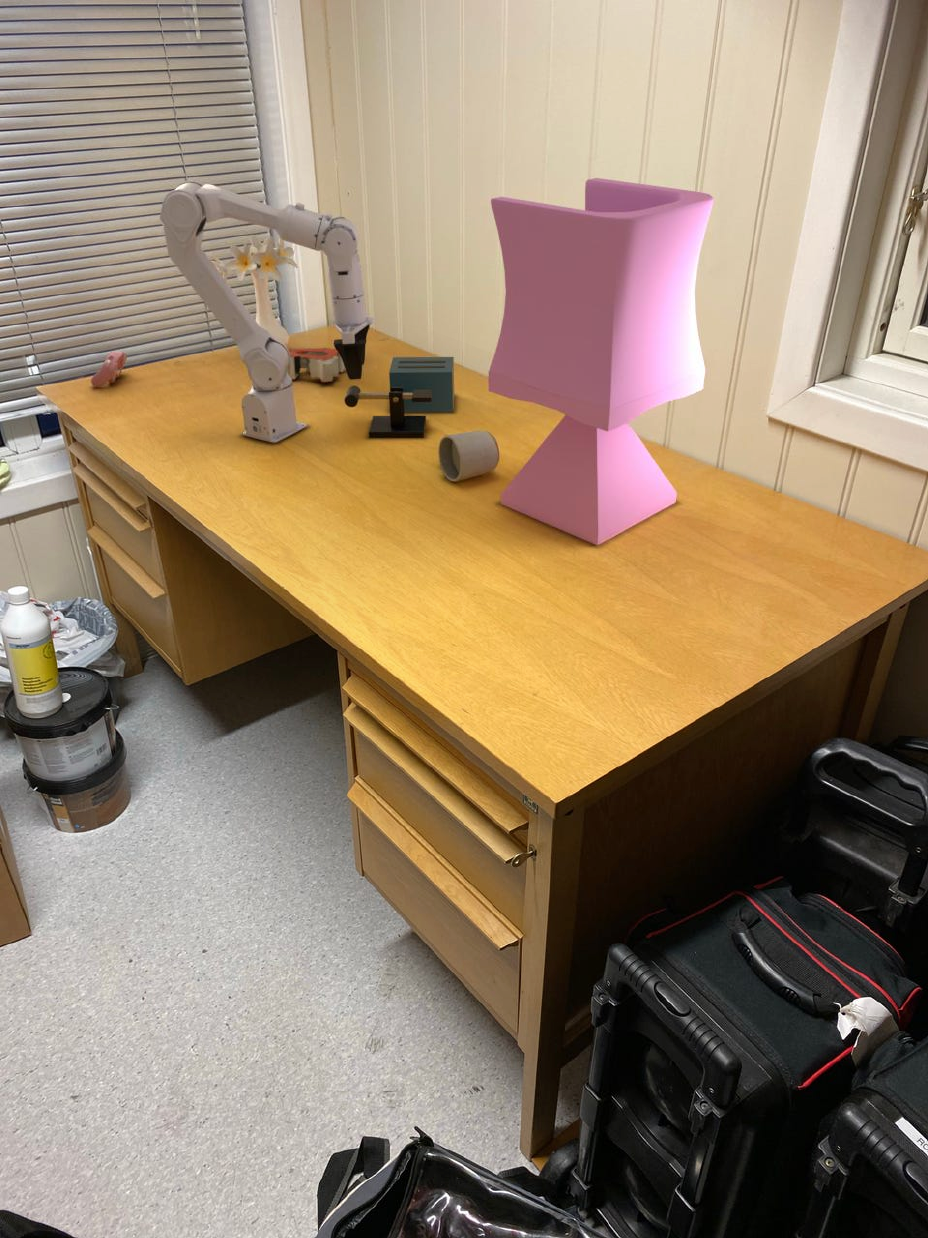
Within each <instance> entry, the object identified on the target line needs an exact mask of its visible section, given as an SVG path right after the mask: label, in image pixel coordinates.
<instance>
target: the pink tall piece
mask: <svg viewBox="0 0 928 1238" xmlns="http://www.w3.org/2000/svg"><path fill="white" fill-rule="evenodd" d="M584 186H585V188H584V209H580V208H579V209H578V208H573V207H567V206H560V205H554V204H548V203H542V202H537V201H529V200H525V199H518V198H511V197H507V196H499V197H498V196H497V197H494V198H492V197H491V199H490V205H491V211H492V215H493V219H494V222H495V226H496V230H497V235H498V236H497V237H498V240H499V245H500V250H501V257H502V263H503V271H504V283H505V284H504V286H505V287H504V289H505V295H504V297H505V298H504V308H503V309H504V310H503V317H502V321H501V328H500V332H499V336H498V340H497V343H496V348H495V351H494V354H493V357H492V360H491V364H490V366H489V370H488V392H490V393H493V394H496V395H498V396H502V397H505V398H507V399H510V400H516V401H523V402H528V403H533V404H536V405H538V406H541V407H545V408H548V409H551V410H554V411H557V412H559V413H561V414H563V415H564V416H563V417H562V418H561V420H560V421H559V422H558V424H557V425H556V426H555V427H554V428H553V429H552V431H551V432H550V433H549V435H548V436H547V437H546V438H545V440H543V442H541V444H540V446H539V447H538V448H537V450H535V452H534V453H533V454H532V455H531V456H530V457H529V459H528V460H527V461H526V462H525V464H524V465H523V466H522V468H521V469H520V470H519V471H518V473H517V474H516V475H515V476H514V477H513V478H512V480H511V481H510V482H509V483H508V485H507V486H506V487H505V488H504V490H503V491H502V492H501V493H500V505H502V506H505V507H508V508H510V509H512V510H514V511H517V512H519V513H521V514H524V515H526V516H528V517H531V518H533V519H536V520H537V521H540V522H542V523H544V524H546V525H548V526H551V527H554V528H556V529H558V530H561V531H562V532H565V533H567V534H570V535H572V536H575V537H577V538H579V539H581V540H584V541H585V542H589V543H590V544H593V545H596V546H600V545H601V544H603V543H605V542H606V541H608V540H610V539H612V538H614V537H615V536H618V535H619V534H621V533H623V532H625V531H627V530H628V529H631V528H632V527H634V526H636V525H638V524H639V523H641V522H643V521H644V520H646V519H648V518H650V517H653V516H654V515H656V514H657V513H659V512H661V511H663V510H665V509H666V508H668V507H671V505H673V504H675V503H676V501H677V494H678V493H677V491H676V489H675V488H674V486H673V485H672V483H671V482H670V480H669V479H668V478H667V476H666V475H665V474H664V471H662V469H661V468H660V467H659V465H658V463H657V462H656V460H655V459H654V458H653V457H652V454H651V453H650V452H649V451H648V449H647V448H646V447H645V444H644V443H643V442H642V441H641V439H640V438H639V436H638V435H637V433H636V432H635V430H634V429H633V427H632V426H631V425H630V423H631V422H632V421H633V420H635V419H637V418H638V417H639V416H641V415H643V414H645V413H646V412H648V411H649V410H651V409H655V408H657V407H658V406H661V405H663V404H665V403H668V402H671V401H674V400H679V399H683V398H686V397H688V396H691V395H693V394H696V393H697V392H700V391H702V390H704V384H705V375H706V367H705V363H704V358H703V353H702V349H701V344H700V339H699V338H700V337H699V332H698V326H697V315H696V294H695V293H696V292H695V291H696V281H697V272H698V265H699V264H698V263H699V259H700V254H701V249H702V245H703V241H704V237H705V233H706V229H707V226H708V222H709V219H710V215H711V211H712V208H713V205H714V199H715V198H714V197H713V196H712V195H711V194H709V193H707V192H700V191H695V190H688V189H680V188H675V187H674V188H673V187H667V186H659V185H651V184H644V183H637V182H629V181H622V180H616V179H608V178H600V177H594V178H588V179H586V180H585V185H584Z"/></svg>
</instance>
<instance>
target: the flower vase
mask: <svg viewBox="0 0 928 1238" xmlns="http://www.w3.org/2000/svg"><path fill="white" fill-rule="evenodd" d="M249 242H250V243H251V244H248V241H247V239H245V240H244V242H243V250H241V249H240V248H239V247H238V246H237V245H235V244H231V245H230V247H229V251H230V254H231V255H232V257H233V258H234V259H231V260H229V261H227V262H226V263H224V262H223V261H222V260H220V259H219V258H218V257H217V256H215V255H214V254H213V253H212V252H211V251H210V252H209V254H210V256H211V257H212V259H213V260H210V261H211V262H212V263H213V265H214V266H215V267H216V269H217V270H218V271H219V273H220V274H221V275H222V277H223V278H224V279H225V281H226V282H227V283H228V273H229V271H231V273H234V272H235V271H236V270H237V272H236V278H237V280H238V281H243V280H244V278H245V277H246V273H247V271H249V273H250V275H251V278H252V282H253V287H254V295H255V305H256V315H255V319H254V320H255V321H256V322H257V324H258V325H259V326H260V327H262V328H264V329H265V330H267V331H268V332H269V333H270V334H271V336H272V337H273V338H274V339H276V340H277V341H279V342H281V343H283V344H284V345H285V346H286V347H287V346H288V344H289V342H290V336H289V333H288V332H287V330H286V328H284V326H282V325H281V324H280V323H279V322H278V320H277V319H276V317H275V315H274V311H273V308H272V303H271V296H270V289H269V275H270V277H272V279H273V280H275V281H277V282H281V281H282V273H281V271H280V270H279V269H278V268H279V267H283V266H284V265H291V266H293V267H294V268H295V269H298V268H299V266H298V264H297V262H295V260H294V259H293V258H291V257H292V256H294V254H295V251H294V249H293V248H292V247H291V246H286V247H285V241H284V240H282V239H281V238H280V236H279V235H278V240H276V241H275V237H274V236H269V237H266V238H265V240H263V242H262V241H261V240H260V239H259V237H258V236H256V235H255V234H252V235H250V236H249ZM274 243H275V244H276V247H274Z"/></svg>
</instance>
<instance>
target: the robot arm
mask: <svg viewBox="0 0 928 1238" xmlns="http://www.w3.org/2000/svg"><path fill="white" fill-rule="evenodd" d="M224 218H225V219H226V218H229V219H234V220H238V221H241V222H245V223H248V224H252V225H256V226H260V227H264V228H268V229H271V230H274V231H275V232H276V233H277V235H278V237H279V236H280V238H281V239H282V240H284V242H288V243H291V244H294V245H296V246H297V245H298V246H301V247H304V248H306V249H311V250H313V251H316V252H321V251H322V252H323V253H324V255H325V257H326V261H327V276H328V277H327V278H328V284H329V292H330V299H331V306H332V307H331V308H332V314H333V322H332V323H333V328H334V329H335V330H336V331H338V333H339V334H340V335H341V338H340V339H339V338H338V339H337V338H336V339H333V346H334V349H336V350H337V351H338V353H339V354H340V356H341V358H342V360H343V363H344V366H345V368H344V370H345V372H346V374H347V377H348V380H351V381H353V380H361V379H362V375H363V366H364V365H365V361H366V346H367V342H368V341H367V336H368V332H369V329H370V326H371V325H374V324H375V320H374V317H368V316H367V309H366V297H365V290H364V282H363V273H362V272H363V271H362V266H361V264H360V255H359V250H358V244H359V239H360V237H359V236H360V235H359V231H358V228H357V226H356V225H355V223H353V221H352V220H349V219H348V218H346V217H344V216H335V217H334V215H333V214H332V213H329V212H328V213H326V215H325V214H322V213H319V212H315V211H312V210H310V209H306V208H305V204H304V203H301V202H296V204H295V205H294V204H286V205H285V206H284V207H282V208H277V207H274V206H271V205H269V204H267V203H263V202H262V201H261V202H260V201H258V200H255V199H252V198H250V197H247V196H244V195H241V194H238V193H236V192H233V191H230V190H228V189H225V188H222V187H219V186H217V185H213V184H208V183H205V184H203V183H201V182H199V181H196V180H186V181H183V182H181V183H180V184H179V185H178V186H177V187H176V188H175V189H173V190H171V191H169V192H168V193H167V194H166V195H165V196H164V198H163V201H162V205H161V209H160V214H159V221H160V222H161V225H162V227H163V232H164V238H165V243H166V249H167V254H168V256H169V258H170V260H171V261H172V262H173V264H174V265H175V266H176V268H177V269H178V270H179V272H180V273H181V275H183V277H184V278H185V280H186V281H187V282H188V283H189V285H190V286H191V287H192V288H193V290H194V291H195V293H196V294H197V295H198V296H199V298H200V299H201V300H202V301H203V303H204V304H205V306H206V307H207V308H208V309H209V310H210V312H211V313H212V315H213V316H214V317H215V318H216V320H217V321H218V322H219V323H220V325H221V326H222V328H224V330H225V331H226V333H227V334H228V335H229V337H230V338H231V340H233V342H234V343H235V344H236V346H237V349H238V354H239V357H240V360H241V361H242V362H243V364H244V365H245V367H246V369H247V374H248V378H249V380H250V381H251V387H250V388H251V389H250V390H249V391H248V393H246V394H245V395H244V396H243V397H242V398H241V399H242V400H241V410H242V416H243V424H244V430H245V431H243V432H242V436H244V437H248V438H252V439H256V440H260V441H264V442H268V443H272V444H277V443H279V442H280V441H282V440H284V439H286V438H288V437H290V436H292V435H293V434H296V433H298V432H299V431H301V430H304V429H305V428H307V427H308V423H305V422H301V421H297V414H296V405H295V403H296V402H295V395H294V388H293V379H291V377H290V376H289V375H288V373H287V371H286V369H287V368H288V366H289V364H290V353H289V350H290V349H288V347H287V346H285V345H284V344H283V343H281V342H279V341H277V340H276V339H274V338H273V337H272V336H271V334H270V333H269V332H268V331H267V330H265V329H264V328H262V327H260V326H259V325H258V324H257V322H256V321H255V320H256V319H255V318H254V317H253V316H252V314H251V313H250V311H249V309H247V307H246V306H245V304H243V302H242V301H241V299H240V297H238V295H237V294H236V293H235V291H234V290H233V288H232V287H231V286H230V285H229V283H228V281H227V282H226V281H225V279H224V278H223V277H222V275H221V274H220V271H219V270H217V269H216V267H215V266H214V265H213V263H212V262H211V261H212V260H211V259H210V257H208V255H207V254H206V252H205V251H204V250H203V248H202V243H203V238H204V230H205V229H204V228H205V226H206V224H210V223H213V222H216V221H218V220H223V219H224Z"/></svg>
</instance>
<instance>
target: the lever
mask: <svg viewBox="0 0 928 1238" xmlns="http://www.w3.org/2000/svg"><path fill="white" fill-rule="evenodd" d="M394 392H399V391H394ZM402 397H403V399H412V402H431V401H432V390H413V393H402ZM359 400H389V392H362V390H361V388H360V387H359V386H358V385H354V384H353V385H350V386H349V387H348V388H347V391H346V394H345V396H344V404H345V405H346V406H347V407H348V408H354V407H357V405H358V403H359Z"/></svg>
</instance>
